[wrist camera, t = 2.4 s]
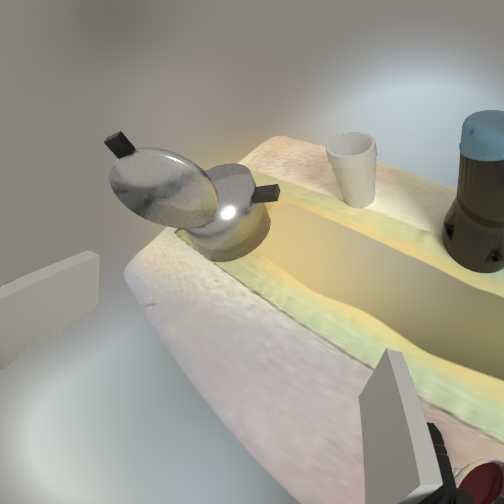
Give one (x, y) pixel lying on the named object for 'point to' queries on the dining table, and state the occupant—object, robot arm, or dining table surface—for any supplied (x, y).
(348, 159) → the foam cup
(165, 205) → the cooker lid
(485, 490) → the wineglass
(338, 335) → the dining table surface
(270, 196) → the cooker pot
